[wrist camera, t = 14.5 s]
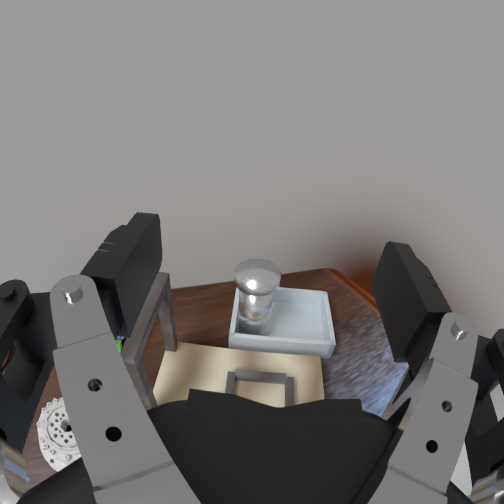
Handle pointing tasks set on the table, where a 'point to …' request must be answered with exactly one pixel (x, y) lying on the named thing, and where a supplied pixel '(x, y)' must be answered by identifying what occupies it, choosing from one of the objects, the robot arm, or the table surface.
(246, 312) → the pin
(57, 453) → the mechanical component
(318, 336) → the tray
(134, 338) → the dolly
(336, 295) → the table surface
